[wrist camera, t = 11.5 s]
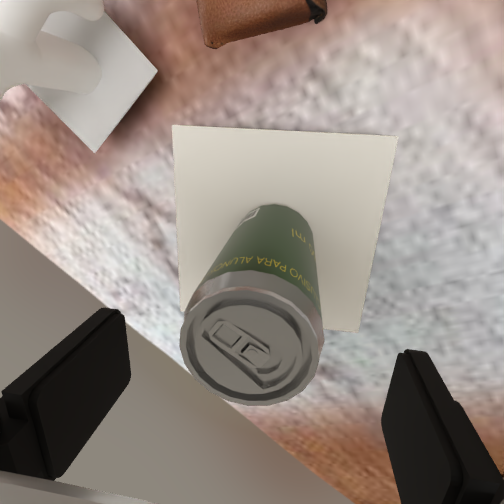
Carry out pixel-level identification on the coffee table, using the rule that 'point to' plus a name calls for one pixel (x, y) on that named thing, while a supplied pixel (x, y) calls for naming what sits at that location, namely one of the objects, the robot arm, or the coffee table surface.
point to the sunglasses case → (253, 17)
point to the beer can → (257, 312)
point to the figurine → (72, 62)
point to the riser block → (284, 201)
